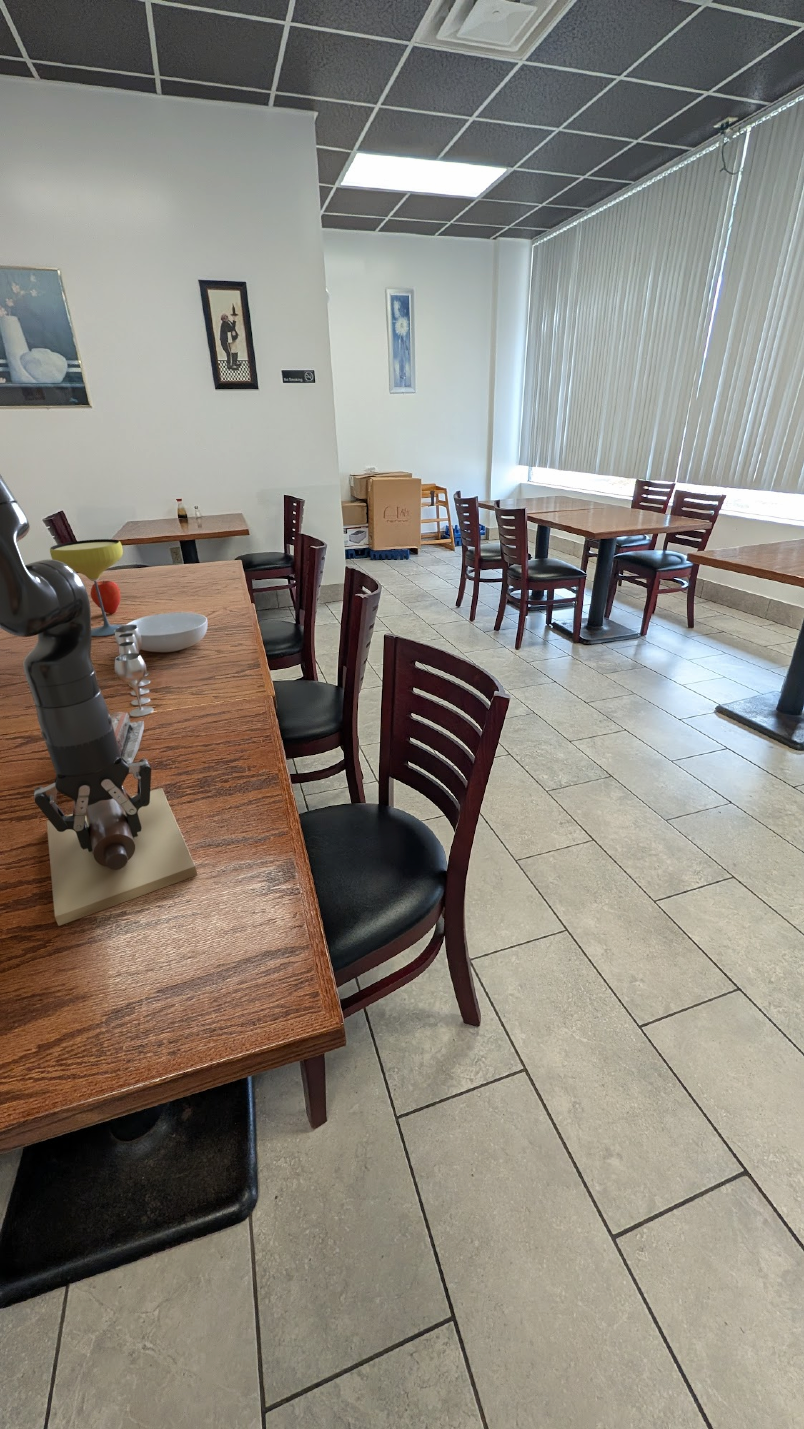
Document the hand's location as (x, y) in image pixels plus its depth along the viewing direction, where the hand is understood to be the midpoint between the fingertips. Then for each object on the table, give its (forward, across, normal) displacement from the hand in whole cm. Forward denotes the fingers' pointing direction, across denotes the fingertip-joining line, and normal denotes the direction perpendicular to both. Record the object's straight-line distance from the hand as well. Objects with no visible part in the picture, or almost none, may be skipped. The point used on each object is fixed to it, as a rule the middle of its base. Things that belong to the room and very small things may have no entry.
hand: (112, 840), depth 79 cm
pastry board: (+2, 0, 0) cm, 2 cm away
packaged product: (+2, -3, -31) cm, 31 cm away
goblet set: (+2, -12, -58) cm, 59 cm away
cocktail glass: (+2, -12, -113) cm, 114 cm away
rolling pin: (0, 0, 0) cm, 0 cm away
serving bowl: (+2, -24, -86) cm, 89 cm away
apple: (+2, -15, -134) cm, 135 cm away
